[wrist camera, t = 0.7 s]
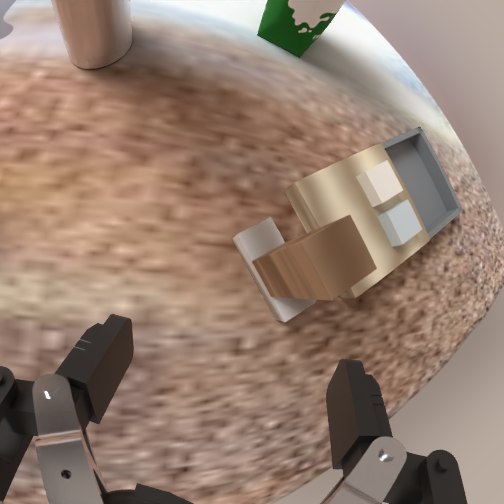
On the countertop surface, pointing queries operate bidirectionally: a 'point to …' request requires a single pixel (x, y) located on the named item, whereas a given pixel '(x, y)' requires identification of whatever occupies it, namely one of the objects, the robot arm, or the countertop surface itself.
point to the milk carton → (297, 22)
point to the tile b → (400, 223)
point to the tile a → (379, 183)
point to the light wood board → (354, 211)
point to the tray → (424, 179)
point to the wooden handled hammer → (304, 264)
